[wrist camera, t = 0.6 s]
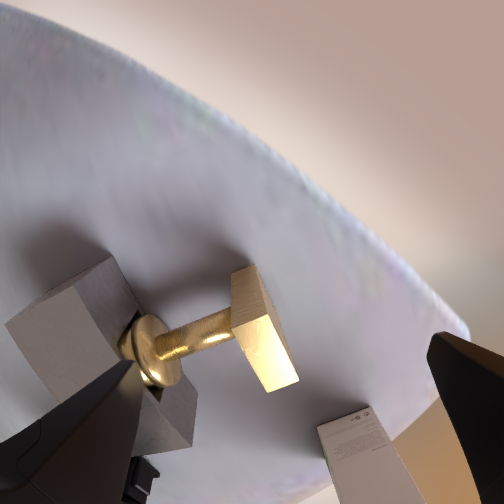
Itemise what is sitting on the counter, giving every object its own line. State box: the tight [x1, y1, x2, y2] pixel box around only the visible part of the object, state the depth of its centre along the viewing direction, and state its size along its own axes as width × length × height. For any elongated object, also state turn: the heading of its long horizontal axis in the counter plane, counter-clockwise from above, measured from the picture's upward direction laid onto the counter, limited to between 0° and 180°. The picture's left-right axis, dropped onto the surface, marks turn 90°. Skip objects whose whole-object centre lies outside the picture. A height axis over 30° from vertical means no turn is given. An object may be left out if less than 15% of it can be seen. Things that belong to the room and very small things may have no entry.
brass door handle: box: [116, 264, 299, 393], centre depth 18 cm, size 14×5×8 cm, turn 113°
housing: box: [5, 256, 198, 457], centre depth 19 cm, size 8×14×6 cm, turn 23°
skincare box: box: [317, 407, 426, 504], centre depth 20 cm, size 8×7×16 cm
